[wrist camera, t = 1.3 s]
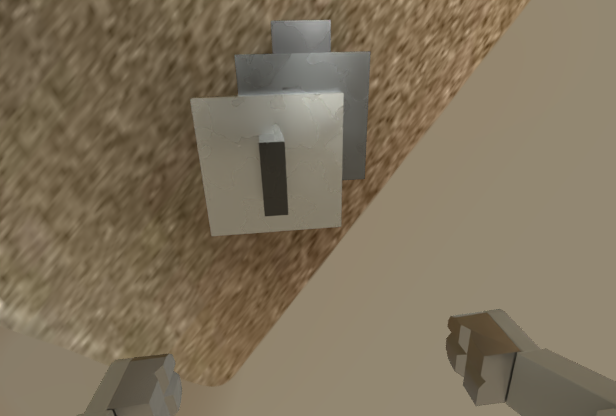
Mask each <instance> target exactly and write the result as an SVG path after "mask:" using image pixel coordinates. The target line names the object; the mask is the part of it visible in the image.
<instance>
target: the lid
mask: <svg viewBox="0 0 616 416" xmlns="http://www.w3.org/2000/svg"><path fill="white" fill-rule="evenodd" d="M343 99H344V93H342V92H320V93H292V94H264V95H236V96H207V97H192V98H190V102H191V109H192V115H193V121H194V128H195V134H196V141H197V147H198V153H199V160H200V166H201V173H202V179H203V185H204V192H205V198H206V205H207V211H208V217H209V224H210V230H211V236H223V235H237V234H250V233H263V232H277V231H290V230H303V229H317V228H330V227H341V209H342V154H343Z"/></svg>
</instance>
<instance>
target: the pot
mask: <svg viewBox="0 0 616 416" xmlns="http://www.w3.org/2000/svg"><path fill="white" fill-rule="evenodd" d="M271 37H272V53H273V54H246V55H235V65H236V75H237V85H238V95H264V94H292V93H320V92H342V93H344V99H343V154H342V180H354V179H365V158H366V137H367V115H368V93H369V72H370V52H331V20H298V21H271Z"/></svg>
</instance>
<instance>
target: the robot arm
mask: <svg viewBox="0 0 616 416" xmlns="http://www.w3.org/2000/svg"><path fill="white" fill-rule="evenodd" d="M448 328H449V329H450V331H451V334H450V335H449V336H448V337H447V338H446V350H447V356H448V359H449V361H450V364H451V365H452V367H453V369H454V371H455V372H456V373H458V374H460V375H461V376H463V377H464V382H463V386H464V387H465V389H466V391H467V392H468V394H469V395H470V397H471V399H472V400H473V402H474V404H475V405H476V406H480V405H488V404H495V403H505V402H506V404H507V405H508V406H509V407H511V408H512V409H513V410H515V411H516V412H517V413H519V414H520V415H521V416H616V381H613V380H611V379H609V378H607V377H605V376H603V375H601V374H599V373H597V372H594V371H592V370H590V369H588V368H586V367H584V366H582V365H580V364H578V363H576V362H573V361H571V360H569V359H567V358H565V357H563V356H561V355H559V354H556V353H554V352H552V351H550V350H548V349H540V348H539V347H538V346H537V345H536V344H535V342H534V341H532V339H531V338H530V337H529V336H528V335H527V334H526V333H525V332H524V331H523V330H522V329H521V328H520V327H519V326H518V325H517V324H516V323H515V322H514V321H513V320H512V319H511V318H510V317H509V316H508V314H507V313H506V312H505V311H503V310H501V309H496V310H489V311H483V312H477V313H469V314H462V315H456V316H451V317H450V318H449V320H448ZM174 367H175V360H174V358H173V355H172V354H161V355H152V356H143V357H134V358H128V359H118V360H115V361H114V362H113V363H111V365H110V367H109V369H108V370H107V372H106V374H105V376H104V378H103V379H102V381H101V383H100V385H99V387H98V389H97V391H96V392H95V394H94V396H93V398H92V400H91V402H90V403H89V405H88V407H87V409H86V411H85V412H84V414H79V415H77V416H174V415H175V414H176V413H177V412H178V411H179V407H180V403H181V395H182V386H181V380H180V376H179V374H177V373H176V372H174V371H173V370H174Z"/></svg>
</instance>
